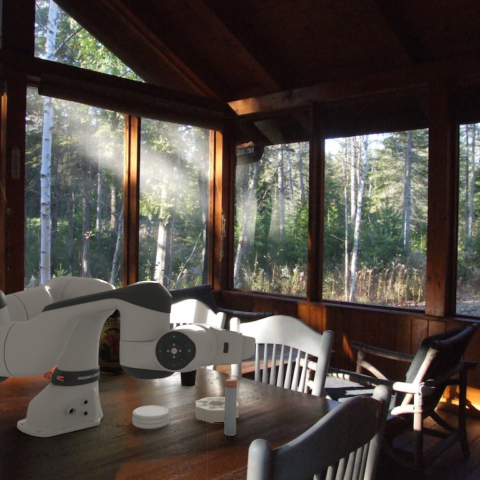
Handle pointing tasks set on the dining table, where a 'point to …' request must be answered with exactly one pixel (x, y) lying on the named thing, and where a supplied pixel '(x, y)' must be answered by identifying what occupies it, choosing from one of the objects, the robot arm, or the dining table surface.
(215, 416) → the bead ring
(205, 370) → the dining table surface
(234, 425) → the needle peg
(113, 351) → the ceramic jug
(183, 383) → the drinking cup
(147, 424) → the white short cylinder
